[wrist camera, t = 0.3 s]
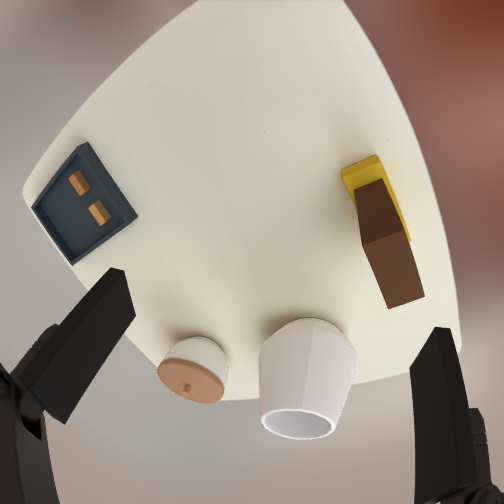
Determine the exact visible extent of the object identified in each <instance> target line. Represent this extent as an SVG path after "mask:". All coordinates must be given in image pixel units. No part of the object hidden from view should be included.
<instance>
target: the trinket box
mask: <svg viewBox="0 0 504 504" xmlns="http://www.w3.org/2000/svg"><path fill="white" fill-rule="evenodd" d="M157 371H158V376H159V378H160V380H161V381H162V382H163V383H164V385H166V386H167V387H168V388H169V389H170V390H172V391H173V392H175V393H176V394H178V395H180V396H182V397H184V398H186V399H189V400H192V401H196V402H200V403H214V402H217V401H219V400H220V399H221V398H222V396H223V394H224V389H225V386H226V383H227V378H228V362H227V359H226V357H225V355H224V353H223V351H222V349H221V347H220V346H219V345H218V344H217V343H216V342H214V341H213V340H211V339H209V338H206V337H202V336H195V337H192V338H188V339H184V340H182V341H179V342H178V343H177V344H175V345H174V346H173V347H172V348H171V349H170V350H169V352H168V353H167V354H166V356H165V357H164V359H163V361H162V362H161V363H160V365H159V367H158V369H157Z"/></svg>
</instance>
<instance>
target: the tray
mask: <svg viewBox="0 0 504 504" xmlns="http://www.w3.org/2000/svg"><path fill="white" fill-rule="evenodd" d="M79 170H80V172H81V173H82V175H83V176H84V178H85V179H86V181H87V182H88V184H89V185H90V187H91V188H90V189H89V190H88V191H87V192H86V193H84V194H83V195H81V196H80V195H79V194H78V192H77V191H76V189H75V188H74V186H73V185H72V183H71V182H70V180H69V178H70V177H71V176H72V175H73V174H74V173H75V172H77V171H79ZM98 200H100V201H101V203H102V204H103V206H104V207H105V209H106V210H107V211H108V213H109V214H110V216H111V218H110V219H109V220H107V221H106V222H105V223H104V224H102V225H101V226H100V224H99V223H98V222H97V220H96V219H95V217H94V216H93V215H92V213H91V212H90V210H89V209H88V208H89V207H90V206H91V205H92V204H93V203H95V202H96V201H98ZM31 208H32V210H33V211H34V213H35V214H36V216H37V217H38V219H39V220H40V222H41V223H42V225H43V226H44V228H45V229H46V231H47V232H48V234H49V235H50V237H51V238H52V239H53V241H54V242H55V244H56V245H57V246H58V248H59V249H60V251H61V252H62V253H63V255H64V256H65V257H66V259H67V260H68V261H69V263H70V264H71V265H72V266H73V265H74V264H75V263H77V262H78V261H79V260H81V259H82V258H83V257H85V256H86V255H87V254H89V253H90V252H91V251H93V250H94V249H95V248H97V247H98V246H100V245H101V244H102V243H104V242H105V241H106V240H108V239H109V238H111V237H112V236H113V235H115V234H116V233H118V232H119V231H121V230H122V229H123V228H125V227H126V226H128V225H129V224H131V223H132V222H133V221H134V220H135V219H136V218H137V217H138V215H137V214H136V213H135V211H134V210H133V208H132V207H131V205H130V204H129V203H128V201H127V200H126V198H125V197H124V195H123V194H122V193H121V191H120V190H119V188H118V187H117V185H116V184H115V182H114V181H113V179H112V178H111V176H110V175H109V173H108V172H107V170H106V169H105V167H104V166H103V164H102V163H101V161H100V160H99V158H98V157H97V155H96V154H95V152H94V150H93V149H92V147H91V146H90V144H89V143H88V142H87V143H84V144H82V145H80V146H78V147H77V148H76V149H75V150H74V151H73V153H72V154H71V155H70V156H69V157H68V159H67V160H66V161H65V162H64V163H63V165H62V166H61V167H60V168H59V170H58V171H57V172H56V174H55V175H54V176H53V177H52V179H51V180H50V181H49V183H48V184H47V185H46V187H45V188H44V190H43V191H42V192H41V194H40V195H39V197H38V198H37V199H36V201H35V202H34V204H33V205H32V207H31Z"/></svg>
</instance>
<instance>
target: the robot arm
mask: <svg viewBox="0 0 504 504" xmlns="http://www.w3.org/2000/svg"><path fill="white" fill-rule="evenodd" d="M135 316H136V314H135V310H134V307H133V303H132V299H131V296H130V292H129V288H128V284H127V280H126V276H125V272H124V271H123V270H119V269H115V268H110V269H109V270H108V271H107V272H106V273H105V274H104V275H103V276H102V277H101V278H100V279H99V280H98V282H97V283H96V284H95V285H94V286H93V287H92V288H91V289H90V290H89V291H88V293H87V294H86V295H85V296H84V297H83V298H82V299H81V300H80V302H79V303H78V304H77V305H76V306H75V307H74V309H73V310H72V311H71V312H70V313H69V314H68V315H67V317H66V318H65V319H64V320H63V321H62V323H61V324H60V325H57V324H54V325H52V326H50V327H49V328H47V329H46V330H45V331H44V332H43V333H42V334H41V336H40V337H39V338H38V341H36V342H35V343H34V344H33V345H32V348H30V349H29V350H28V352H27V353H26V354H25V356H24V357H23V358H22V359H21V361H20V362H19V363H18V365H17V366H16V367H15V368H14V370H13V371H12V372H11V373H10V374H9V373H8V372H7V371H6V370H5V368H4V367H3V366H2V364H1V363H0V504H60V503H59V499H58V495H57V491H56V486H55V482H54V477H53V472H52V467H51V461H50V455H49V449H48V442H47V434H46V426H45V418H44V414H43V411H44V410H46V411H47V412H48V413H49V414H50V415H51V416H52V417H53V418H55V419H56V420H58V421H60V422H61V423H63V424H65V423H66V422H67V420H68V418H69V417H70V415H71V413H72V412H73V410H74V409H75V407H76V405H77V404H78V402H79V400H80V399H81V397H82V396H83V394H84V393H85V391H86V389H87V388H88V386H89V385H90V383H91V382H92V380H93V378H94V377H95V375H96V374H97V372H98V371H99V369H100V368H101V366H102V365H103V363H104V362H105V360H106V359H107V357H108V356H109V354H110V353H111V351H112V350H113V348H114V347H115V345H116V344H117V342H118V341H119V340H120V338H121V336H122V335H123V334H124V332H125V331H126V329H127V328H128V326H129V325H130V324H131V322H132V321H133V319H134V318H135ZM409 369H410V378H411V387H412V399H413V411H414V426H415V427H414V429H415V498H414V504H435V503H438V502H440V504H504V493H502V492H500V490H499V489H498V487H497V486H495V485H493V484H492V482H491V476H490V463H489V453H488V445H487V444H486V442H487V438H486V434H485V432H486V431H485V425H484V419H483V417H482V415H481V413H480V412H479V410H478V408H469V406H468V401H467V395H466V390H465V385H464V381H463V376H462V372H461V368H460V363H459V359H458V355H457V351H456V348H455V344H454V340H453V337H452V333H451V330H450V328H442V327H434V329H433V331H432V333H431V334H430V336H429V338H428V339H427V341H426V343H425V344H424V346H423V348H422V349H421V351H420V352H419V354H418V356H417V357H416V359H415V360H414V362H413V363H412V365H411V366H410V368H409Z"/></svg>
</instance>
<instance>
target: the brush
mask: <svg viewBox="0 0 504 504" xmlns="http://www.w3.org/2000/svg"><path fill="white" fill-rule="evenodd" d="M341 174H342V179H343V181H344V183H345V185H346V187H347V190H348V192H349V194H350V196H351V198H352V200H353V202H354V204H355V206H356V209H357V214H358V220H359V227H360V234H361V241H362V247H363V249H364V251H365V254H366V256H367V258H368V261H369V263H370V265H371V268H372V270H373V272H374V275H375V277H376V280H377V282H378V285H379V287H380V290H381V292H382V295H383V297H384V300H385V302H386V305H387V308H388V309H391V308H394V307H397V306H400V305H403V304H406V303H409V302H411V301H414V300H417V299H420V298H423V297H425V295H424V291H423V287H422V284H421V280H420V277H419V273H418V270H417V266H416V263H415V260H414V257H413V253H412V250H411V247H410V244H409V242H410V241H411V239H410V236H409V233H408V230H407V227H406V224H405V221H404V218H403V215H402V213H401V210H400V207H399V205H398V202H397V199H396V197H395V194H394V192H393V189H392V187H391V184H390V182H389V179H388V177H387V175H386V172H385V170H384V167H383V165H382V163H381V161H380V159H379V157H378V156H377V155H375V156H372V157H370V158H367V159H365V160H363V161H360V162H358V163H356V164H354V165H351V166H349V167H347V168H344V169H342V170H341Z"/></svg>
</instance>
